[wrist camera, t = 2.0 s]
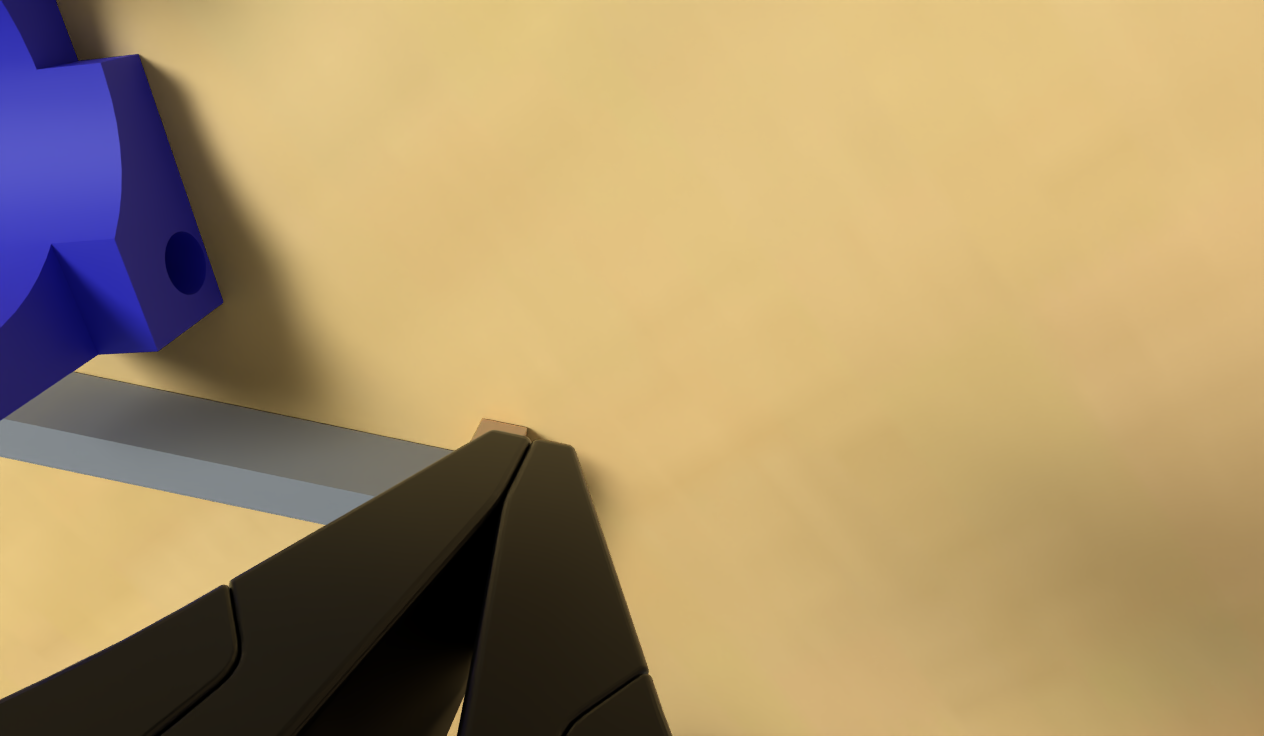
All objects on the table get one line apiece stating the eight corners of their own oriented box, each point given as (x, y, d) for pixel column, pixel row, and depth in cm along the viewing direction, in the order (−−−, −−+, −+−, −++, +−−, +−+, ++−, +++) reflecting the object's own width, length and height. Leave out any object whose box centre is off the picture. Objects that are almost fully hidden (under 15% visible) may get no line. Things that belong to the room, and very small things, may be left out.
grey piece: (512, 535, 24) (490, 595, 22) (-81, 411, 25) (-161, 459, 23) (643, -425, 15) (626, -485, 13) (-336, -610, 15) (-522, -700, 13)
